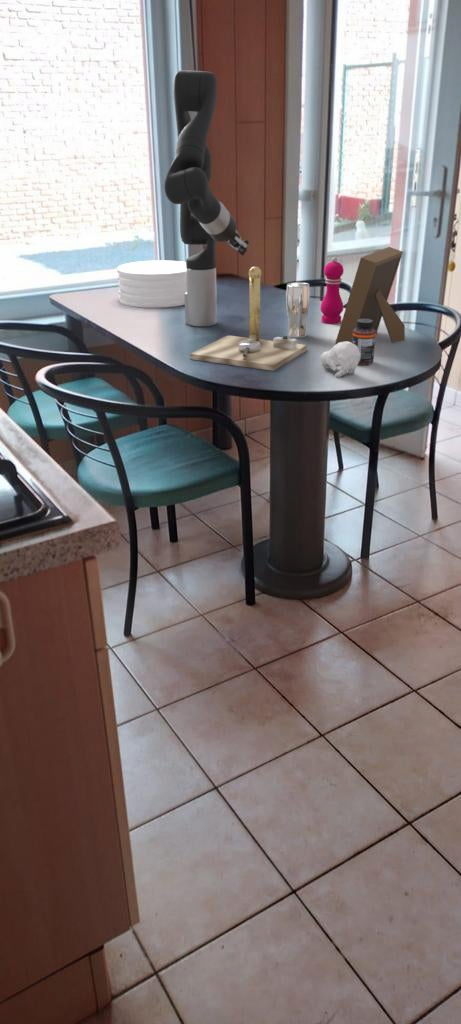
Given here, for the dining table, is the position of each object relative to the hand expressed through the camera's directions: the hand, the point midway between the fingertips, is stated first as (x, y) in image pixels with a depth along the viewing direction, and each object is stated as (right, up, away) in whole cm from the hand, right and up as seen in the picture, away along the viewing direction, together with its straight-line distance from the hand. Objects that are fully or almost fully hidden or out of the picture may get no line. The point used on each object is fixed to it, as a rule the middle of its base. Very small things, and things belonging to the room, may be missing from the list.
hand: (243, 251), depth 217 cm
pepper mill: (+29, -12, +32) cm, 44 cm away
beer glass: (+16, -20, +16) cm, 30 cm away
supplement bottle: (+31, -33, -10) cm, 47 cm away
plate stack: (-30, +4, +65) cm, 72 cm away
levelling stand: (+2, -29, -2) cm, 29 cm away
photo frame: (+38, -23, +9) cm, 46 cm away
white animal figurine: (+24, -37, -17) cm, 47 cm away
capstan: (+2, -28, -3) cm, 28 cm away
